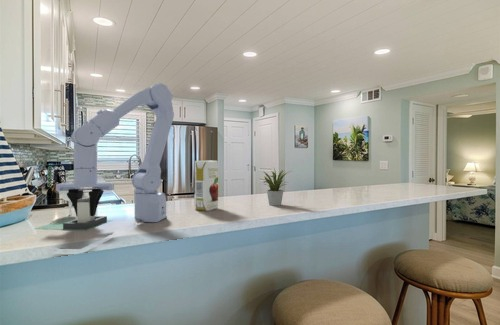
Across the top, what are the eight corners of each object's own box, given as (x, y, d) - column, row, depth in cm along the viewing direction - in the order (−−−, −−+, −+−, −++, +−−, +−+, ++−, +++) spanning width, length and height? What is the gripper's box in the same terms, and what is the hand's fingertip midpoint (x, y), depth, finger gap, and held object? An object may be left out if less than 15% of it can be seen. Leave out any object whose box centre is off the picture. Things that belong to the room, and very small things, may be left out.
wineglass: (62, 216, 96) (62, 181, 96) (82, 215, 98) (81, 180, 98) (57, 220, 91) (57, 182, 90) (78, 218, 93) (78, 182, 92)
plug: (89, 224, 79) (88, 199, 79) (77, 224, 78) (77, 199, 78) (95, 220, 84) (95, 196, 84) (84, 220, 83) (84, 197, 83)
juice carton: (191, 209, 109) (191, 160, 108) (205, 206, 116) (205, 160, 116) (207, 211, 105) (207, 160, 105) (220, 208, 113) (220, 160, 112)
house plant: (293, 202, 127) (294, 166, 127) (295, 207, 113) (296, 167, 113) (262, 201, 129) (262, 165, 128) (260, 207, 115) (260, 167, 114)
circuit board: (112, 223, 87) (112, 215, 87) (86, 233, 75) (86, 224, 75) (67, 222, 88) (66, 214, 88) (34, 232, 76) (34, 223, 76)
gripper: (116, 167, 86) (117, 212, 86) (63, 167, 83) (64, 213, 83) (109, 168, 79) (110, 216, 79) (51, 168, 76) (52, 219, 76)
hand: (86, 215), depth 81 cm, fingers closed on plug, 3 cm apart
